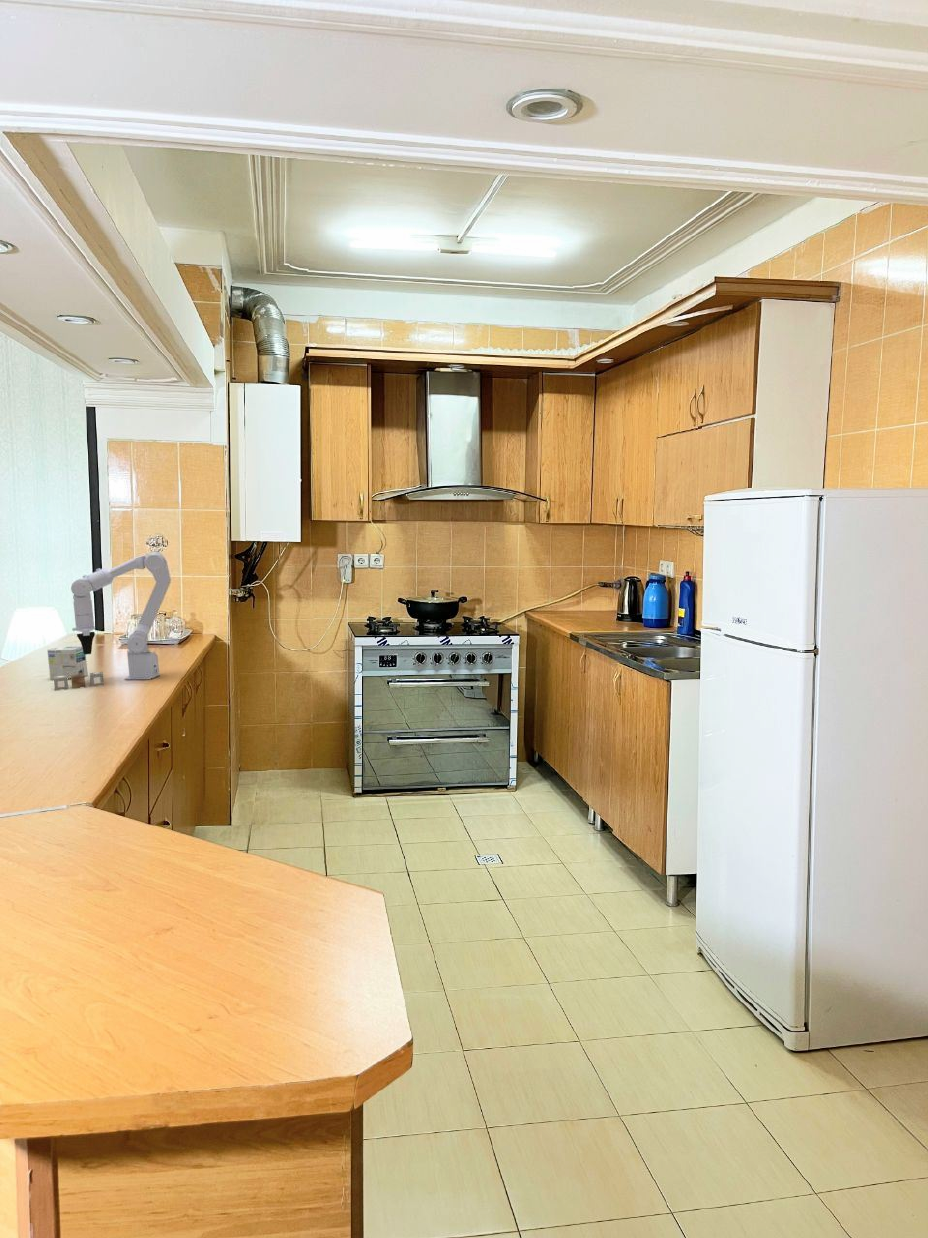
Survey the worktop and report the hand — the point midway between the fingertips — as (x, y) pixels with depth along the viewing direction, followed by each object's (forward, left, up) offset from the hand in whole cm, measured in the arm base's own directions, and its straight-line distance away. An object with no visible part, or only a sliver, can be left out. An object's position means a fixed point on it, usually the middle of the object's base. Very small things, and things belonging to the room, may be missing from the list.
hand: (87, 654), depth 302 cm
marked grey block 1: (+5, +10, -10) cm, 15 cm away
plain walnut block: (0, +8, -10) cm, 13 cm away
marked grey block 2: (-5, +5, -10) cm, 12 cm away
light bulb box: (+12, -8, -10) cm, 17 cm away
